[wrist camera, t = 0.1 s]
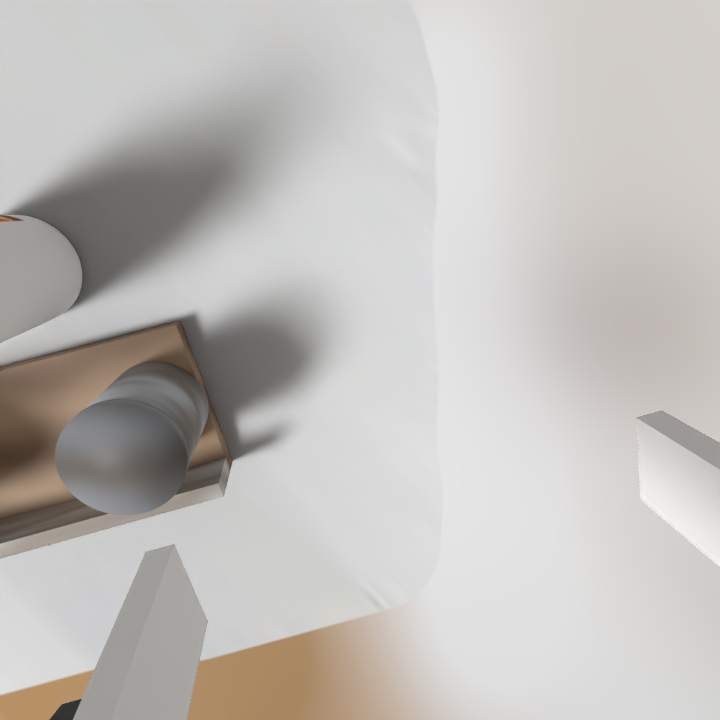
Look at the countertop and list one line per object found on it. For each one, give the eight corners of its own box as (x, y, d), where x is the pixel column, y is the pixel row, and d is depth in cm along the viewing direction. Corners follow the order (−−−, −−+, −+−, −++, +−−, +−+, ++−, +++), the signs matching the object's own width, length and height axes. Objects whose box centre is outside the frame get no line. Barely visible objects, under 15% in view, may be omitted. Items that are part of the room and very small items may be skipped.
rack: (-158, 408, 38) (-317, 480, 28) (185, 319, 39) (147, 357, 29) (-71, 544, 42) (-183, 648, 32) (237, 459, 43) (219, 534, 33)
